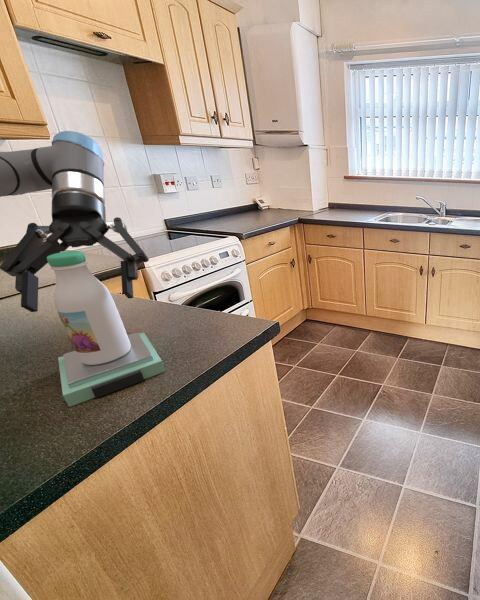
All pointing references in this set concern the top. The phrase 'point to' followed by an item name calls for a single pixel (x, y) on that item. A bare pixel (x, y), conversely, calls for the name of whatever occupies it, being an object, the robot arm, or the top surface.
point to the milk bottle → (87, 310)
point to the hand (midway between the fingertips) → (80, 302)
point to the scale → (110, 379)
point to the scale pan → (86, 373)
